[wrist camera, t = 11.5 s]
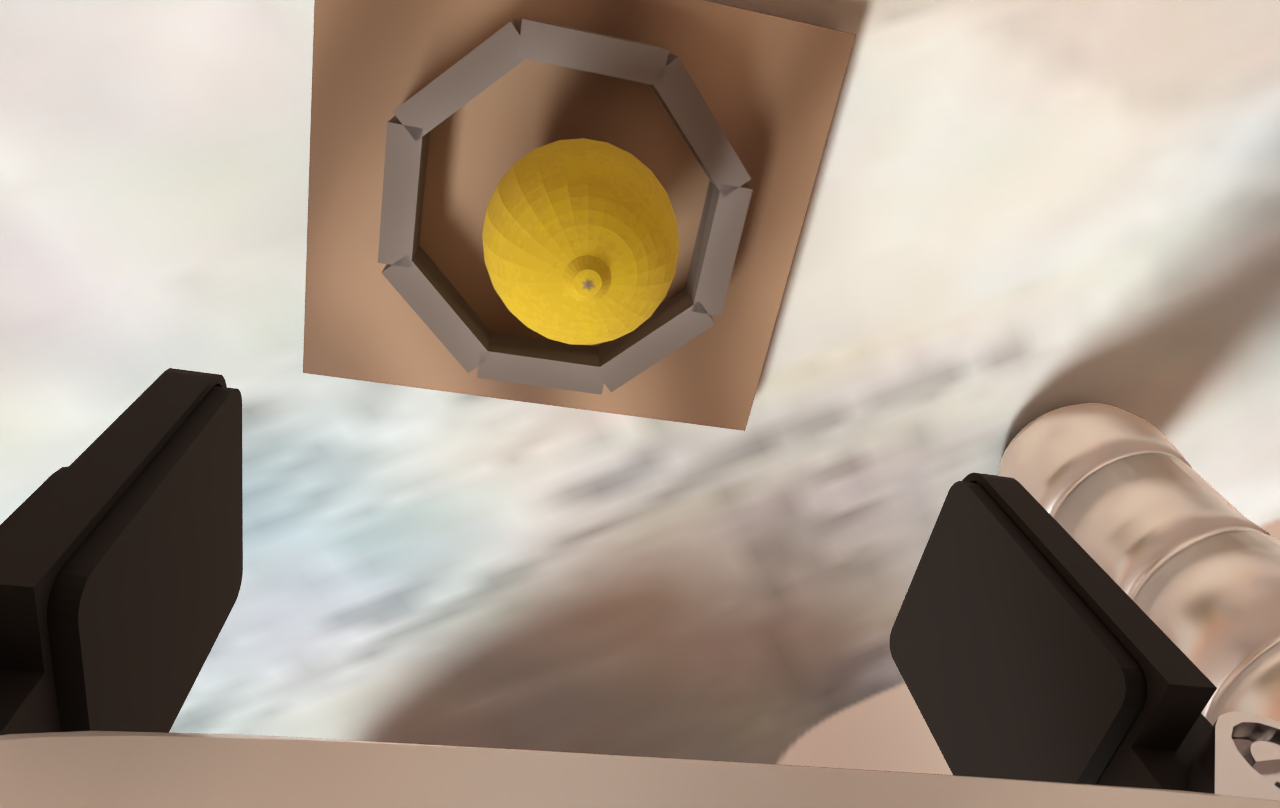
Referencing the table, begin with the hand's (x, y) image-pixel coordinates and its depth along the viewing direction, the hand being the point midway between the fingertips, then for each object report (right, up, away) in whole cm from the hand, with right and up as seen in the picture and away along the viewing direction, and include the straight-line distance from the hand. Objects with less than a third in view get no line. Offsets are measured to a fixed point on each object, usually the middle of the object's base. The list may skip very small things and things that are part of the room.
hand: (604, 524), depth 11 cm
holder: (-2, +8, +18) cm, 20 cm away
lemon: (-2, +8, +17) cm, 19 cm away
